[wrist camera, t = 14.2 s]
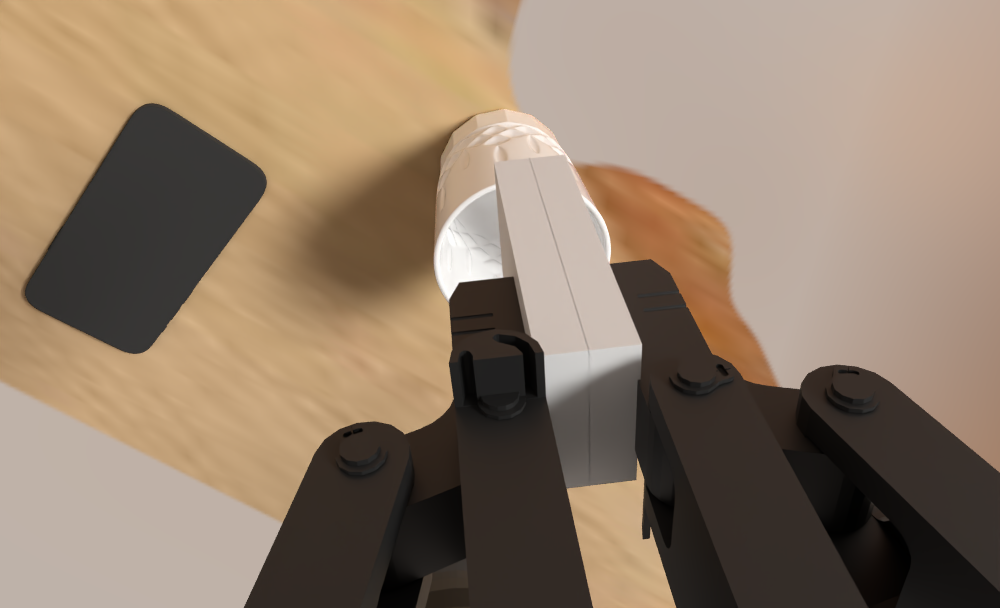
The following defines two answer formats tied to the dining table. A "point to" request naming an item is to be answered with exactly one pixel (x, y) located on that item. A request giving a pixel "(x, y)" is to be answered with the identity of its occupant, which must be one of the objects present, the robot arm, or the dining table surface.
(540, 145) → the white cup
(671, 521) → the robot arm
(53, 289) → the phone
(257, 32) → the dining table surface
